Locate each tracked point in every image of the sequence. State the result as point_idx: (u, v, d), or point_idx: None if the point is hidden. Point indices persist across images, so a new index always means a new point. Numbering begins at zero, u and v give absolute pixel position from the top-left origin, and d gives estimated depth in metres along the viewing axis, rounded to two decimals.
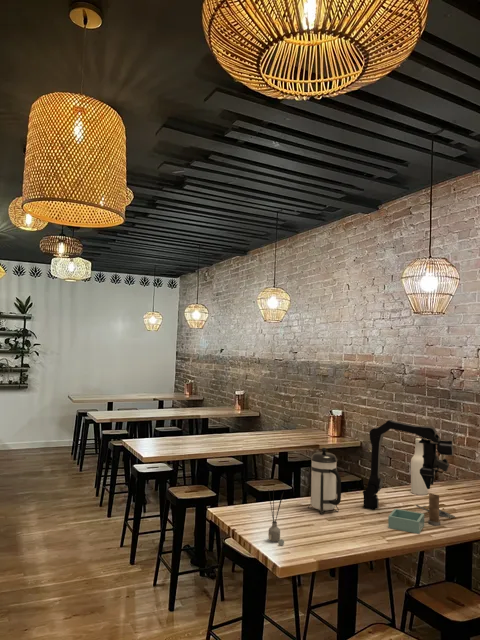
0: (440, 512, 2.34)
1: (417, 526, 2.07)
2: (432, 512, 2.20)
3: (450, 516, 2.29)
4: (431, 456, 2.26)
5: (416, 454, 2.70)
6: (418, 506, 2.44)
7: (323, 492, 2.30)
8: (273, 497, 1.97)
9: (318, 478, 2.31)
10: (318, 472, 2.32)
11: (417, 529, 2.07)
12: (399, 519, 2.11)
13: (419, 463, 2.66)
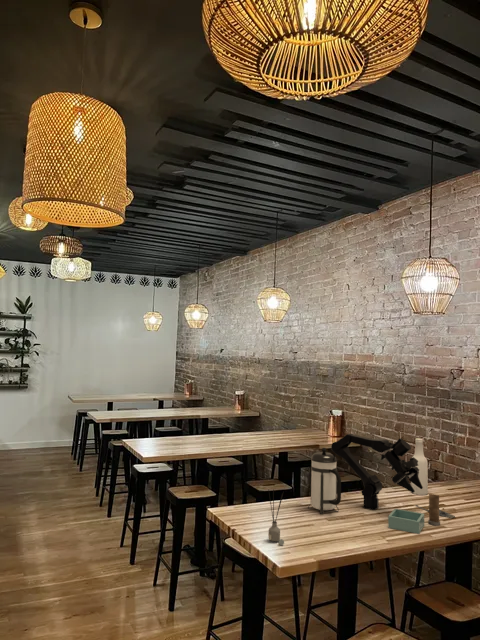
0: (440, 512, 2.34)
1: (417, 526, 2.07)
2: (432, 512, 2.20)
3: (450, 516, 2.29)
4: (396, 463, 2.31)
5: (416, 454, 2.70)
6: (418, 506, 2.44)
7: (323, 492, 2.30)
8: (273, 497, 1.97)
9: (318, 478, 2.31)
10: (318, 472, 2.32)
11: (417, 529, 2.07)
12: (399, 519, 2.11)
13: (419, 463, 2.66)
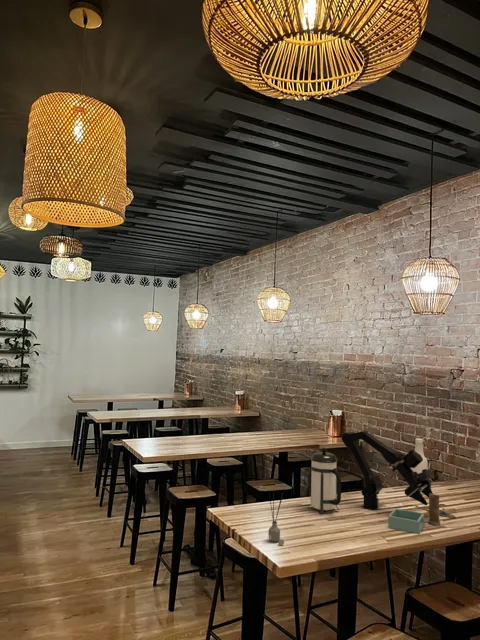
0: (440, 512, 2.34)
1: (417, 526, 2.07)
2: (432, 512, 2.20)
3: (451, 516, 2.29)
4: (408, 475, 2.27)
5: None
6: (417, 506, 2.44)
7: (323, 492, 2.30)
8: (273, 497, 1.97)
9: (318, 478, 2.31)
10: (318, 472, 2.32)
11: (417, 529, 2.07)
12: (399, 519, 2.11)
13: None
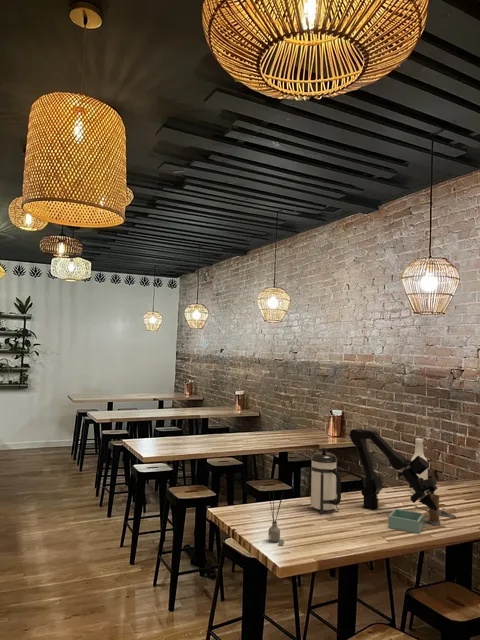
0: (441, 512, 2.35)
1: (417, 526, 2.07)
2: (432, 512, 2.20)
3: (452, 516, 2.30)
4: (414, 481, 2.25)
5: (416, 454, 2.70)
6: (417, 507, 2.43)
7: (323, 492, 2.30)
8: (273, 497, 1.97)
9: (318, 478, 2.31)
10: (318, 472, 2.32)
11: (417, 529, 2.07)
12: (399, 519, 2.11)
13: None
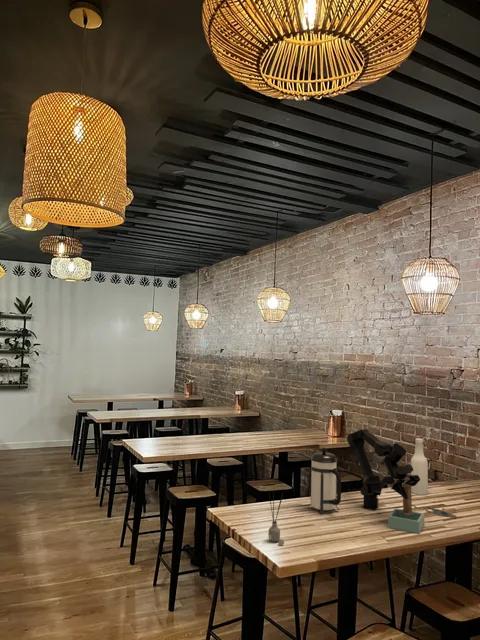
0: (441, 512, 2.35)
1: (417, 526, 2.07)
2: (405, 503, 2.15)
3: (452, 516, 2.30)
4: (390, 468, 2.24)
5: (416, 454, 2.70)
6: (416, 507, 2.43)
7: (323, 492, 2.30)
8: (273, 497, 1.97)
9: (318, 478, 2.31)
10: (318, 472, 2.32)
11: (417, 529, 2.07)
12: (399, 519, 2.11)
13: (419, 463, 2.66)
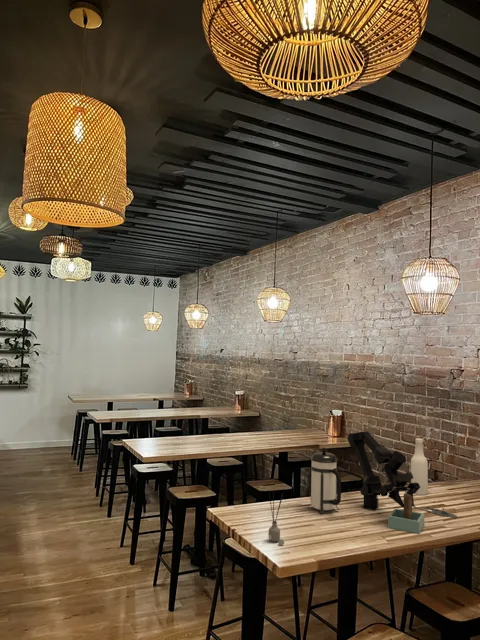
0: (441, 512, 2.35)
1: (417, 526, 2.07)
2: (406, 512, 2.15)
3: (453, 515, 2.30)
4: (390, 476, 2.23)
5: (416, 454, 2.70)
6: (416, 507, 2.42)
7: (323, 492, 2.30)
8: (273, 497, 1.97)
9: (318, 478, 2.31)
10: (318, 472, 2.32)
11: (417, 529, 2.07)
12: (399, 519, 2.11)
13: (419, 463, 2.66)
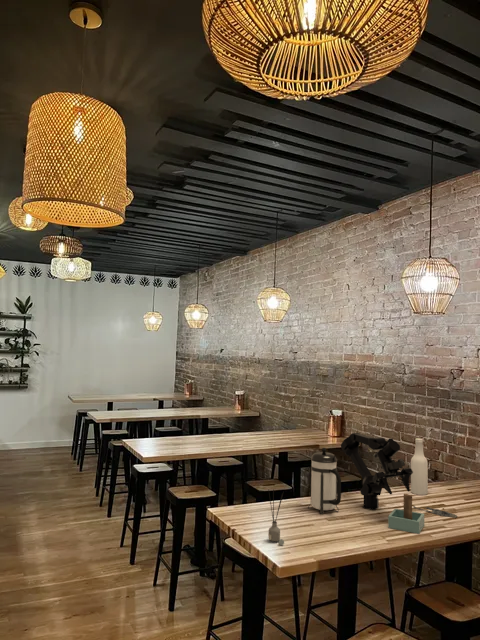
0: (441, 512, 2.35)
1: (417, 526, 2.07)
2: (406, 513, 2.15)
3: (453, 515, 2.30)
4: (383, 463, 2.30)
5: (416, 454, 2.70)
6: None
7: (323, 492, 2.30)
8: (273, 497, 1.97)
9: (318, 478, 2.31)
10: (318, 472, 2.32)
11: (417, 529, 2.07)
12: (399, 519, 2.11)
13: (419, 463, 2.66)
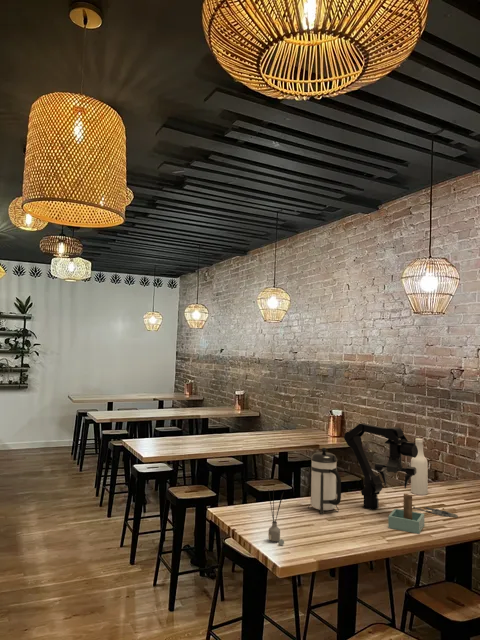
0: (441, 512, 2.35)
1: (417, 526, 2.07)
2: (405, 512, 2.15)
3: (454, 515, 2.31)
4: (389, 455, 2.34)
5: None
6: (415, 508, 2.41)
7: (323, 492, 2.30)
8: (273, 497, 1.97)
9: (318, 478, 2.31)
10: (318, 472, 2.32)
11: (417, 529, 2.07)
12: (399, 519, 2.11)
13: (419, 463, 2.66)
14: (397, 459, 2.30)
